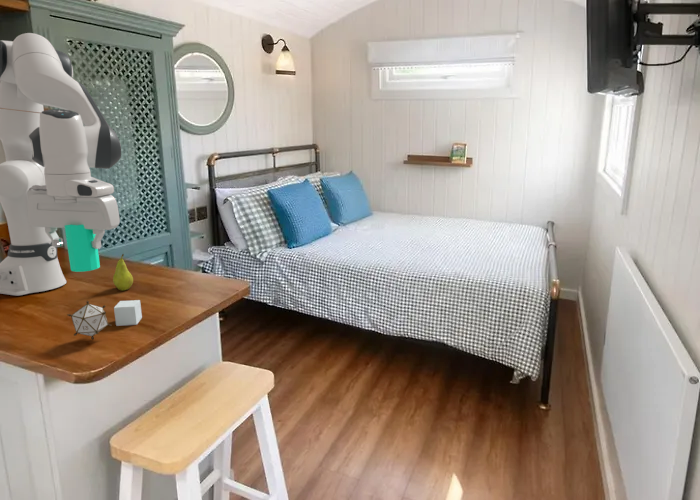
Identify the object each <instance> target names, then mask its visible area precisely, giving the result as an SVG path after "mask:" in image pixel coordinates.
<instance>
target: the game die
mask: <svg viewBox="0 0 700 500" xmlns="http://www.w3.org/2000/svg"><path fill="white" fill-rule="evenodd" d="M85 302H86V304H85V305H83V306H82V307H81V308H79V309H78V310H76V311H75V312H73V313H72V314H70V313H68V314H67V317H71V321H72V324H73V326H74V330H75V333H74V334H73V337H75V336H77V335H84V336H88V337H91V339H92V340H94V339H95V337H94V336H95V335H99V333H100V331H102V330H104V329H105V328H106V327H108V326H109V327H112V325H113V324H111V323H109V322H108V318H107V315H106V314H107V313H106V311H105V308H106V305H102V306H99V305H94V304H91V303H90V301H88V300H86V301H85Z"/></svg>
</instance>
